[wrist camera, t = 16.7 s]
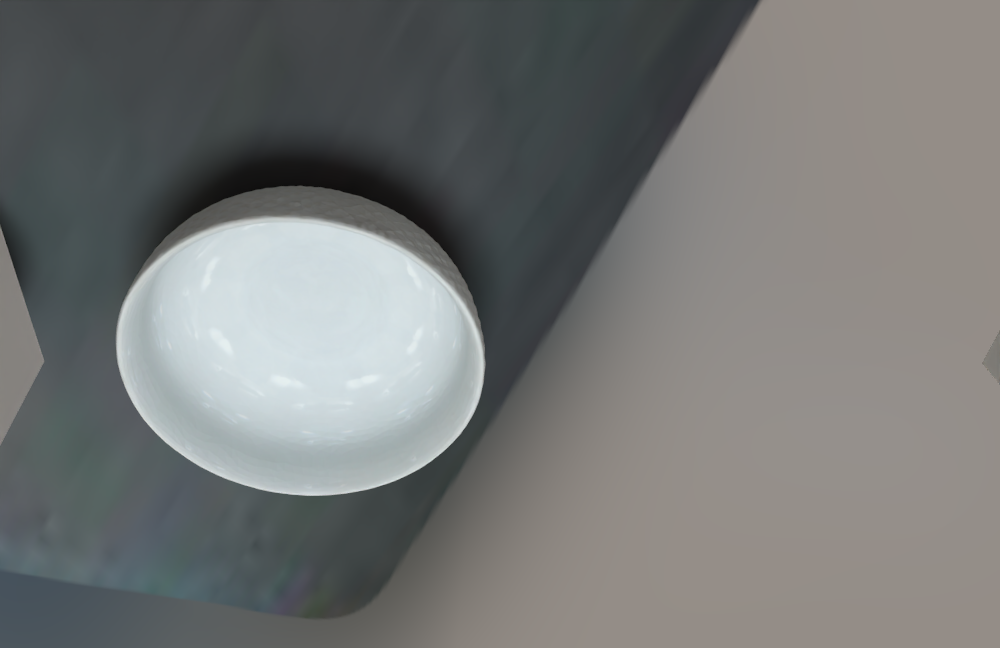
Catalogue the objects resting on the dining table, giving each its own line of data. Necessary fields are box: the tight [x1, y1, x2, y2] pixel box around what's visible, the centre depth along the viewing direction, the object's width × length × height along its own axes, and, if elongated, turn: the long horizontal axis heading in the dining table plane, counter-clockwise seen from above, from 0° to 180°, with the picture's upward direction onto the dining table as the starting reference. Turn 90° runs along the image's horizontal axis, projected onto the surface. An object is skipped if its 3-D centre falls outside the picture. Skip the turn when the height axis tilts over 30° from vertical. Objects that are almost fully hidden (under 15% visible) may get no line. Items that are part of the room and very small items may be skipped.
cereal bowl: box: [116, 186, 486, 496], centre depth 42 cm, size 17×17×7 cm
